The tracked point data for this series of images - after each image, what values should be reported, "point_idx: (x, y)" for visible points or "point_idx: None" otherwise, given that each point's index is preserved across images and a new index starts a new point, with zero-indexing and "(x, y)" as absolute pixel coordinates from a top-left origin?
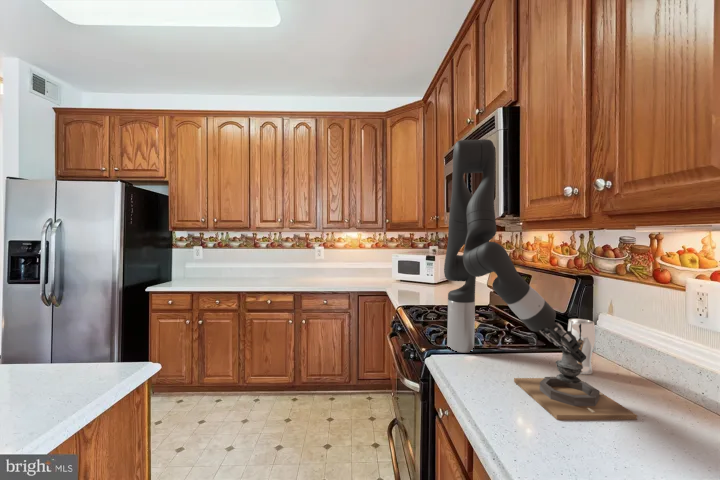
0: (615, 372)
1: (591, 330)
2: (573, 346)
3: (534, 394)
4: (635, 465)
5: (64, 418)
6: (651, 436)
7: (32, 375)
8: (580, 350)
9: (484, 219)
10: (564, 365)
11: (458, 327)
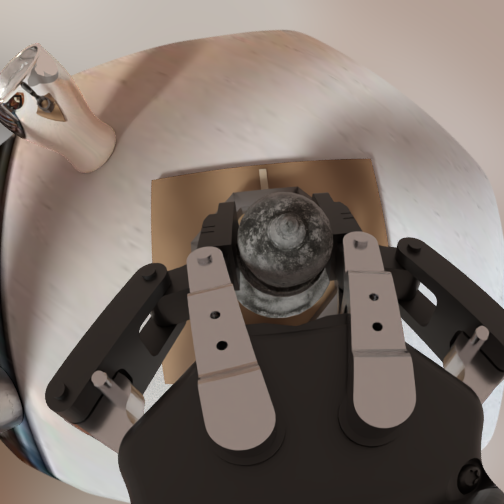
0: (115, 82)
1: (53, 62)
2: (416, 285)
3: None
4: (498, 279)
5: None
6: (427, 185)
7: None
8: (339, 213)
9: None
10: (306, 296)
11: None
